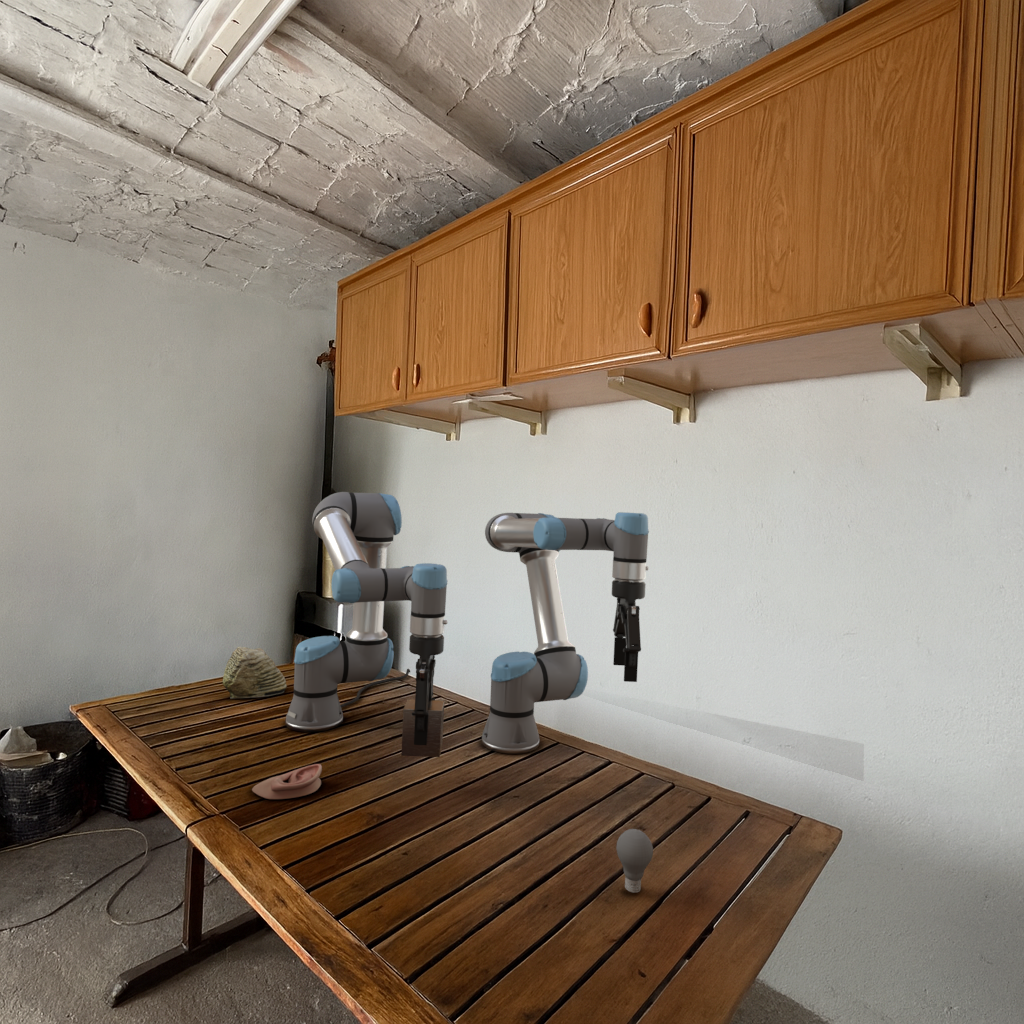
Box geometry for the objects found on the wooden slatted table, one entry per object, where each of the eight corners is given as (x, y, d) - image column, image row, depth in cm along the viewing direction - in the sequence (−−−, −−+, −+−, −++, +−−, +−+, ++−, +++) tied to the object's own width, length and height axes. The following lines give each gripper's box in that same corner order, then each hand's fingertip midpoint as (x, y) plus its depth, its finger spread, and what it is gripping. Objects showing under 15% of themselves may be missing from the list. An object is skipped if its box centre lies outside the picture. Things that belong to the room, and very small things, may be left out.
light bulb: (610, 879, 108) (613, 822, 108) (644, 879, 109) (647, 822, 109) (619, 902, 102) (622, 840, 102) (655, 901, 103) (658, 840, 103)
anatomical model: (244, 776, 132) (275, 755, 144) (243, 795, 132) (274, 772, 144) (301, 785, 130) (329, 762, 141) (301, 804, 130) (328, 780, 141)
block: (401, 755, 137) (403, 709, 137) (405, 743, 143) (407, 699, 143) (439, 757, 137) (441, 710, 137) (442, 745, 143) (444, 700, 143)
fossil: (218, 695, 195) (220, 647, 195) (278, 685, 208) (279, 640, 207) (228, 703, 189) (230, 653, 188) (289, 692, 201) (290, 645, 201)
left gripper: (439, 645, 130) (434, 756, 130) (447, 625, 149) (443, 722, 150) (403, 644, 130) (398, 755, 130) (416, 624, 149) (411, 721, 150)
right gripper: (658, 588, 132) (653, 689, 132) (634, 574, 157) (630, 659, 157) (622, 586, 132) (617, 688, 132) (604, 573, 157) (600, 658, 157)
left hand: (422, 737), depth 140 cm, fingers closed on block, 6 cm apart
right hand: (624, 672), depth 145 cm, fingers open, 13 cm apart
